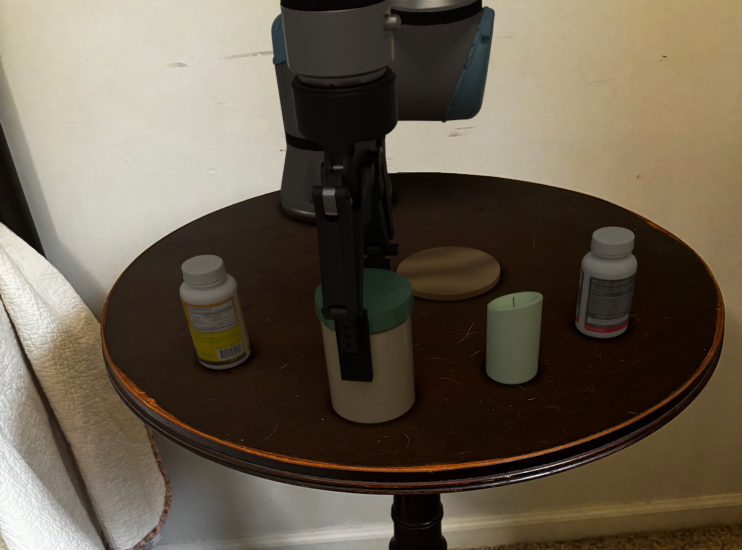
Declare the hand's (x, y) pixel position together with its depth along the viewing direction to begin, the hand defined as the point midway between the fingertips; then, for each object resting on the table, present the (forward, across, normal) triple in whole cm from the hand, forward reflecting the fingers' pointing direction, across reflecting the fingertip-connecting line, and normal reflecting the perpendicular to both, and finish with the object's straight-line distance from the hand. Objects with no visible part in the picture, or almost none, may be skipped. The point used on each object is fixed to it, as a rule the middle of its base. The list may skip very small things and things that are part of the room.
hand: (369, 351), depth 72 cm
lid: (-5, 0, 0) cm, 5 cm away
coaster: (+5, +25, -3) cm, 26 cm away
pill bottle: (+5, +16, -21) cm, 27 cm away
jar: (+5, 0, 0) cm, 5 cm away
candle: (+5, +6, -12) cm, 15 cm away
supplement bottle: (+5, +5, +17) cm, 19 cm away
